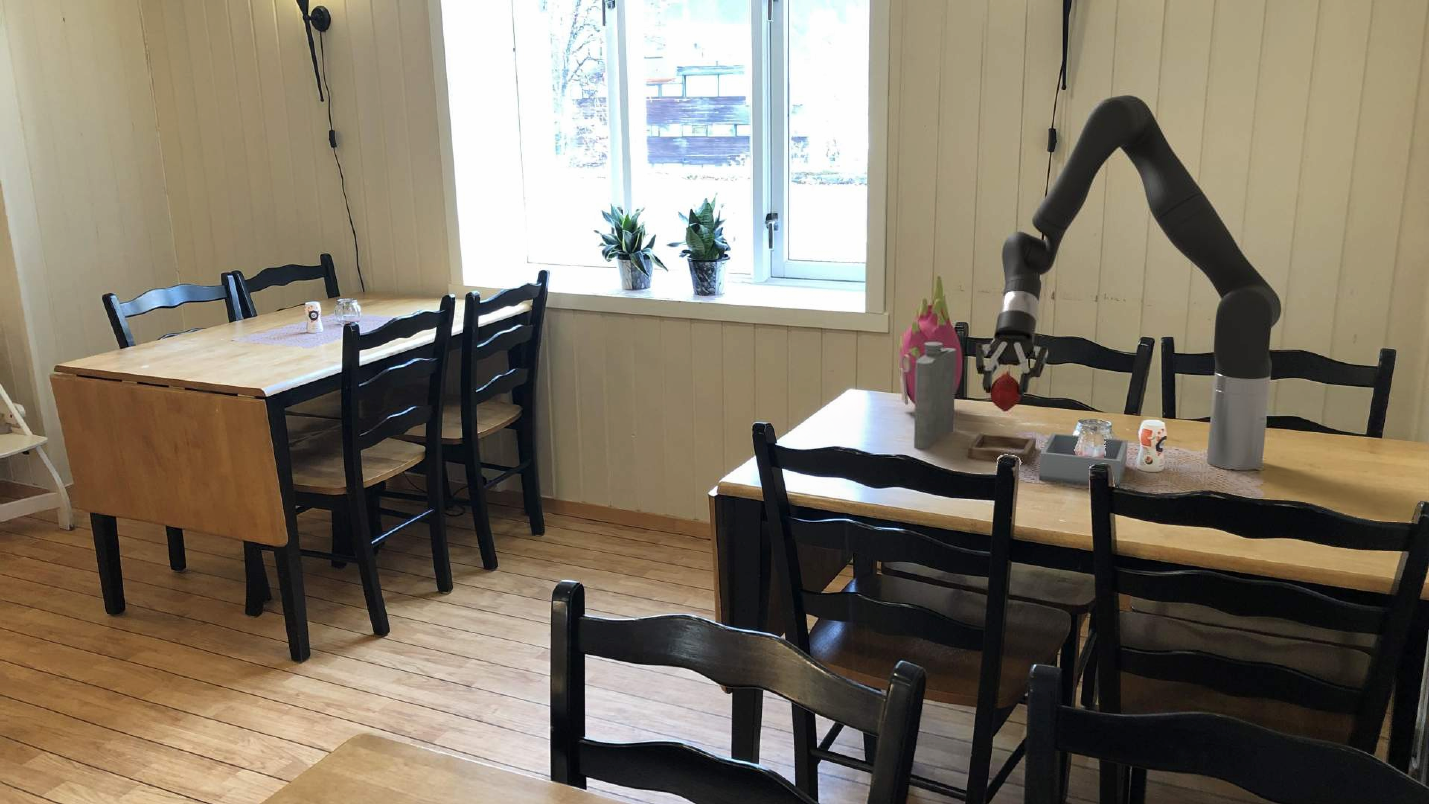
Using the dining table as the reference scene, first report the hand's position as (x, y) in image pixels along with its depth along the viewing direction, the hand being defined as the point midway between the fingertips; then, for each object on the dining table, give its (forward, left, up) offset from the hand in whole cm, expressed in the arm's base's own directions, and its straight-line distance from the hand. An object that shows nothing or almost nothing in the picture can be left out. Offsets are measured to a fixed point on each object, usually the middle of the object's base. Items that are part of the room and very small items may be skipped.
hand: (1004, 391), depth 210 cm
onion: (0, -2, -5) cm, 5 cm away
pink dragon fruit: (+21, -28, -13) cm, 37 cm away
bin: (-16, +5, -13) cm, 21 cm away
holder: (0, -2, -13) cm, 13 cm away
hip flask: (+15, -7, -13) cm, 21 cm away
